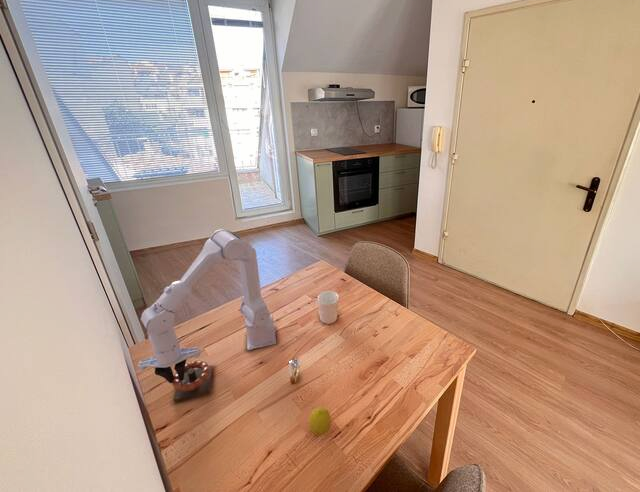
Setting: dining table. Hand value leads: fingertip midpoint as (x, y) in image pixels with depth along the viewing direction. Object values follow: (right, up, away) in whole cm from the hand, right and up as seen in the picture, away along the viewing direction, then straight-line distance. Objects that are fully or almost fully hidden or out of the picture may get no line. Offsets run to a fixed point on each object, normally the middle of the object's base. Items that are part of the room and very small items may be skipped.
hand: (177, 378), depth 85 cm
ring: (+34, -3, +5) cm, 34 cm away
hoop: (+4, 0, +1) cm, 4 cm away
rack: (+4, -3, +3) cm, 5 cm away
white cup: (+41, +8, +30) cm, 51 cm away
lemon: (+43, -9, -8) cm, 45 cm away
